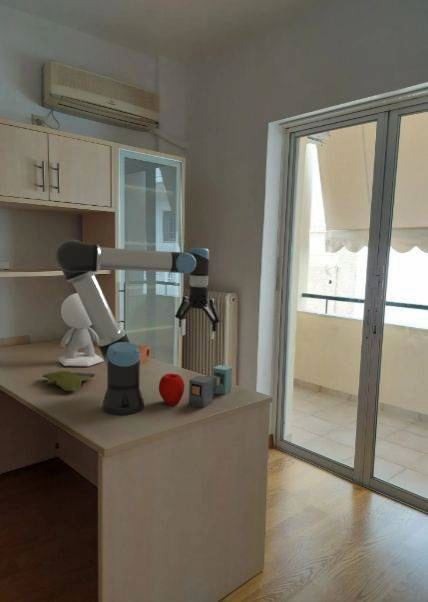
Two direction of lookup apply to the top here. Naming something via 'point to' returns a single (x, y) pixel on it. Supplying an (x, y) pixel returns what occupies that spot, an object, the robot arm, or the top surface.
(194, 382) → the sleeve
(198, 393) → the collared tan post
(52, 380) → the toy airplane
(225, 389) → the socket block
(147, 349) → the crank
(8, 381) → the top surface
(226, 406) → the top surface
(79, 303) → the big headed doll
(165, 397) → the apple
